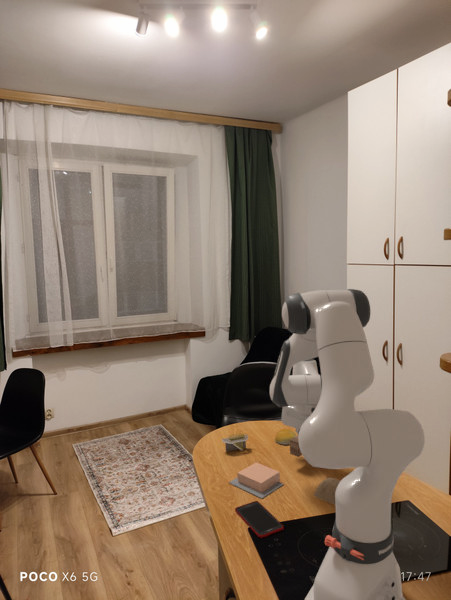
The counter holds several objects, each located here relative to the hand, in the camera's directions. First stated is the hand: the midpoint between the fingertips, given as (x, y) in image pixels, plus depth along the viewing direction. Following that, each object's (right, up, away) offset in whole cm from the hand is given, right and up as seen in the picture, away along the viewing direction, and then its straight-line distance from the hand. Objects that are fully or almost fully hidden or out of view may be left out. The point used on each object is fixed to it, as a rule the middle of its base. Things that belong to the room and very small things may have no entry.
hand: (307, 442), depth 149 cm
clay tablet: (+5, -9, -20) cm, 23 cm away
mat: (-19, -9, -13) cm, 25 cm away
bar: (0, -2, 0) cm, 2 cm away
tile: (-15, -7, -9) cm, 19 cm away
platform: (-25, -8, +12) cm, 28 cm away
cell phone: (-20, -11, -31) cm, 38 cm away
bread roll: (-5, -6, +19) cm, 20 cm away
